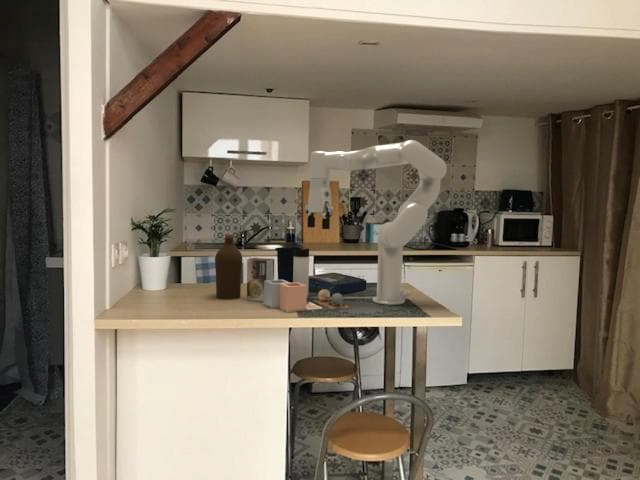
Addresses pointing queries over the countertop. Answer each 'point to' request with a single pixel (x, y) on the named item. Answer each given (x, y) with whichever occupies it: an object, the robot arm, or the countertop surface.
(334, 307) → the speckled flat slab
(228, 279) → the olive oil
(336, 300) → the grey ball
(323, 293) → the beech ball
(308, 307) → the card
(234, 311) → the countertop surface
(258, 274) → the coffee box
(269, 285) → the grey square pot
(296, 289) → the pink square planter
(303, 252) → the travel mug
